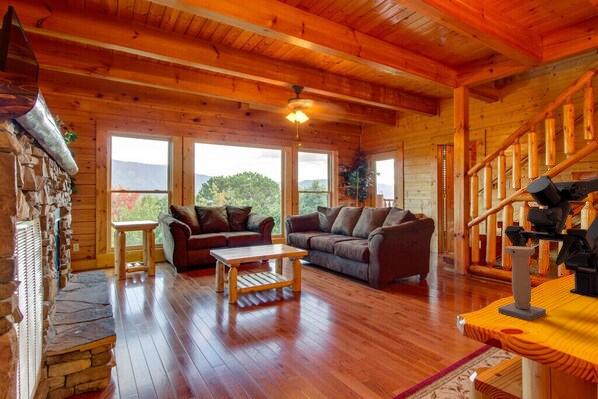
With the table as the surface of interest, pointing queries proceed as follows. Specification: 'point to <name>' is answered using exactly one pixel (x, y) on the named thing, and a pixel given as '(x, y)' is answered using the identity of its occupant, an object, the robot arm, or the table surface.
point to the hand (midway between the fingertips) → (535, 262)
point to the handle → (520, 275)
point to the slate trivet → (522, 312)
